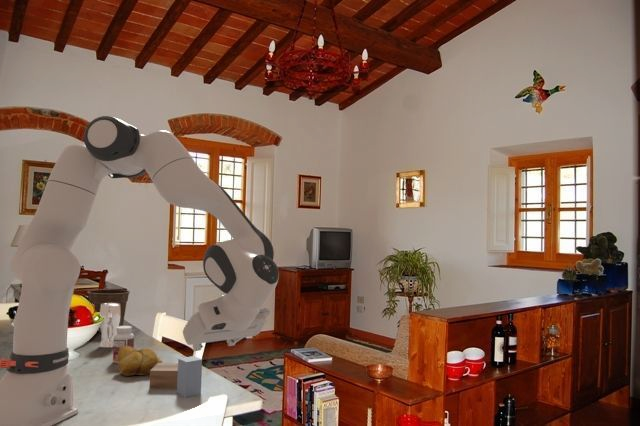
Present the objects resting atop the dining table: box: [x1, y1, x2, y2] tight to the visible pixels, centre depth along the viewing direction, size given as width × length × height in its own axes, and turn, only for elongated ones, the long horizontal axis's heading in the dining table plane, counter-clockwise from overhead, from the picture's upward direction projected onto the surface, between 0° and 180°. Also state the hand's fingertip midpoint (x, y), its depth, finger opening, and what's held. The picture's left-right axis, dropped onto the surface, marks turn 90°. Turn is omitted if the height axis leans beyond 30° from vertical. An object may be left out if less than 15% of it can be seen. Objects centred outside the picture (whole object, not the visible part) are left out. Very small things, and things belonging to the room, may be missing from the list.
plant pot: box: [87, 288, 131, 334], centre depth 214 cm, size 16×16×16 cm
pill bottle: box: [112, 325, 135, 365], centre depth 166 cm, size 6×6×11 cm
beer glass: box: [99, 303, 120, 349], centre depth 187 cm, size 7×7×15 cm
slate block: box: [176, 355, 203, 398], centre depth 136 cm, size 4×4×9 cm
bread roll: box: [118, 345, 164, 377], centre depth 154 cm, size 13×10×8 cm
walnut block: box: [149, 362, 178, 390], centre depth 144 cm, size 8×8×5 cm
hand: (213, 345), depth 128 cm, fingers open, 8 cm apart
